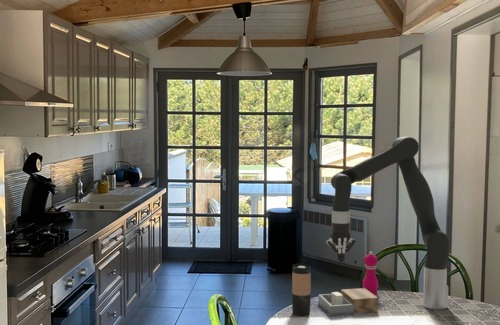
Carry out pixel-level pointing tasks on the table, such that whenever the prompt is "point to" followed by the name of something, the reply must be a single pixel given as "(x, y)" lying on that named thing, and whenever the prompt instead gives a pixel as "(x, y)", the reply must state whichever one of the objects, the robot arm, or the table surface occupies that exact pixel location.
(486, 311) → the table surface
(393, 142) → the robot arm
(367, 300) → the ledge
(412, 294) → the table surface
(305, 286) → the travel mug
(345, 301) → the box
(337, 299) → the cream square block
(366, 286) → the pepper mill
